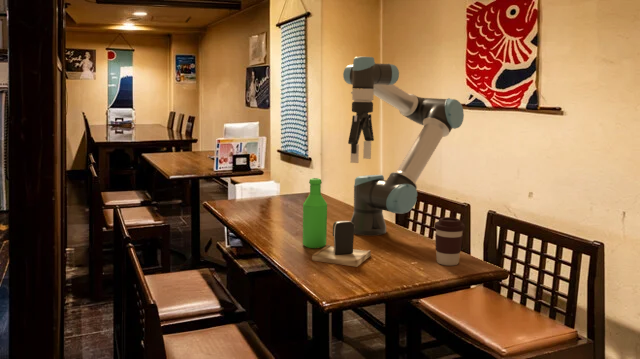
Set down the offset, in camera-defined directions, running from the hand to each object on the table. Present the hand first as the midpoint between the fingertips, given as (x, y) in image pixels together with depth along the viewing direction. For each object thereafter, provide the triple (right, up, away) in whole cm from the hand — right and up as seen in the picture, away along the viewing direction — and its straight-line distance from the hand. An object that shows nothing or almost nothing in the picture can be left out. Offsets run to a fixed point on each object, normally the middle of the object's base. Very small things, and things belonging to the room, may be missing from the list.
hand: (360, 160), depth 208 cm
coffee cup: (+28, -35, -14) cm, 47 cm away
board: (-7, -34, -10) cm, 36 cm away
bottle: (-17, -31, +4) cm, 36 cm away
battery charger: (-7, -32, -10) cm, 35 cm away
